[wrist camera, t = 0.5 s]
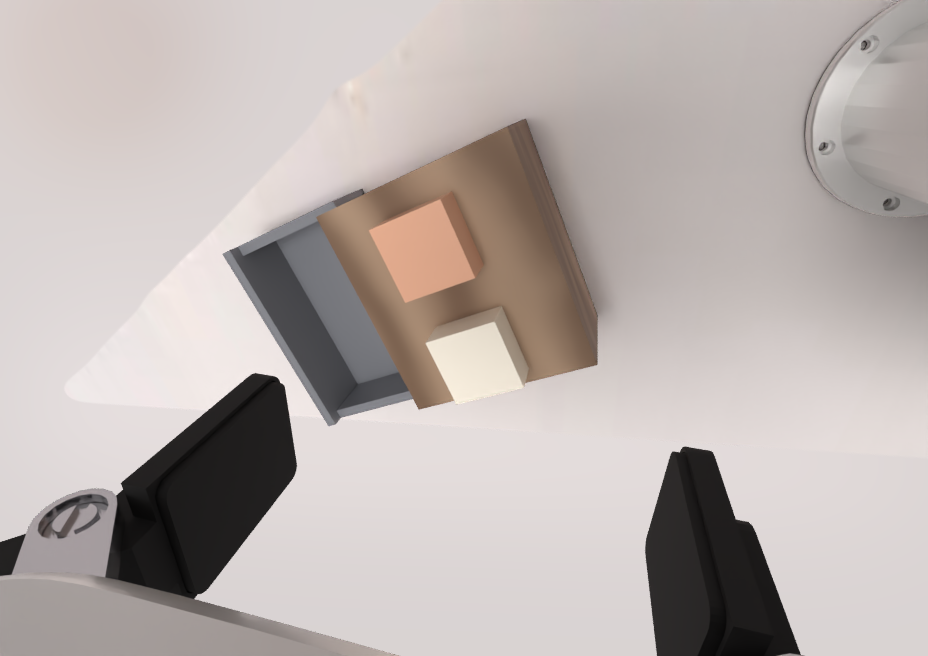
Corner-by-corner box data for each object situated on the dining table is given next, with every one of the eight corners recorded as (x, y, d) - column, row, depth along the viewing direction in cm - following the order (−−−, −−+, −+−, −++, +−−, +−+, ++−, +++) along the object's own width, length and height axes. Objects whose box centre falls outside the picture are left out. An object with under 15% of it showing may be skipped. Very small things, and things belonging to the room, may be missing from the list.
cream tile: (501, 305, 32) (494, 321, 30) (528, 368, 34) (524, 388, 31) (436, 326, 34) (425, 342, 32) (464, 385, 36) (456, 404, 33)
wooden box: (525, 118, 34) (507, 126, 27) (597, 315, 39) (597, 364, 32) (365, 194, 40) (315, 217, 33) (446, 359, 45) (418, 409, 38)
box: (361, 188, 39) (325, 203, 34) (448, 364, 45) (428, 400, 39) (267, 234, 43) (222, 253, 38) (357, 389, 49) (328, 426, 43)
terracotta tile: (451, 191, 30) (440, 199, 27) (483, 264, 31) (475, 278, 29) (384, 220, 31) (368, 230, 29) (417, 288, 33) (405, 302, 31)
